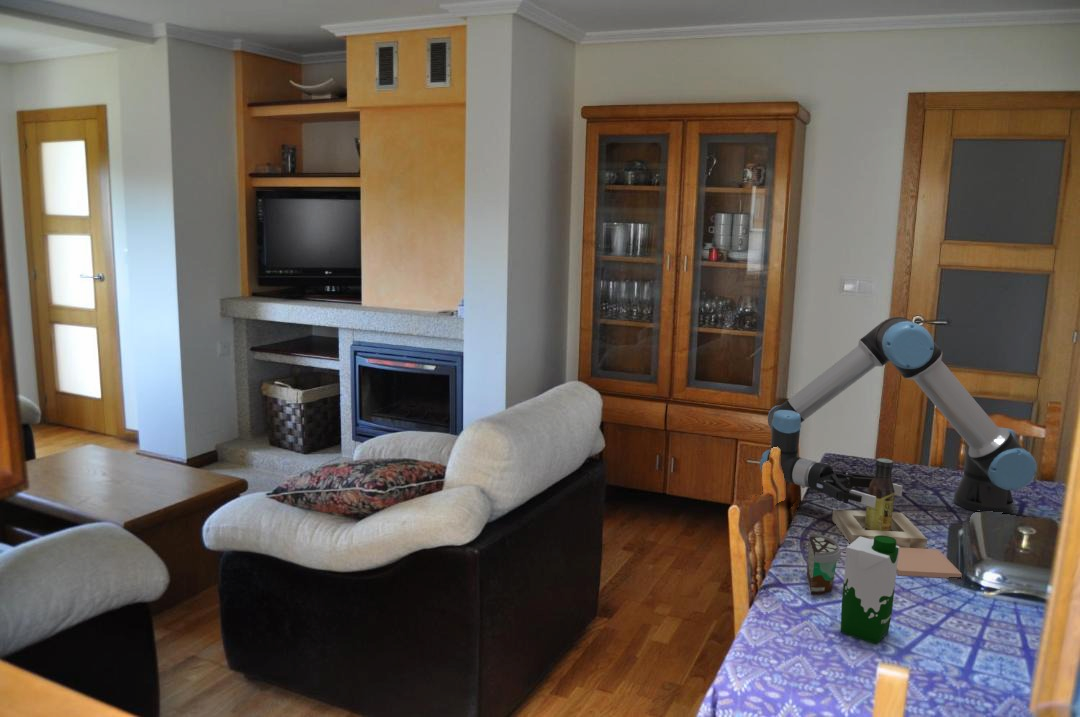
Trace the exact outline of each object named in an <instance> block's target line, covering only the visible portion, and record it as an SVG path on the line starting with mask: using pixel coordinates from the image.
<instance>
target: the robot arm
mask: <svg viewBox="0 0 1080 717" xmlns="http://www.w3.org/2000/svg"><path fill="white" fill-rule="evenodd" d="M942 358H943V351H942V350H941V348H940V347H939V346H938V345H937V343H936V342H935V341H934V339H933V337H932V335H931V333H930V332H929V331H928V330H927V329H926V328H925V327H924V326H923V325H921V324H919V323H916V322H914V321H912V320H910V319H909V318H906V317H902V316H893V317H891V318H887V319H885V320H883V321H882V322H880V323H879V324H877V326H875V327H874V328H873V329H872V330H870V331H868V332H867V334H865V335H864V336H863V337H862V338H860V339H859V340H858V345H857V346H855V347H854V348H853V349H852V350H851V351H849V352H848V353H847V354H846V355H844V356H843V357H841V358H840V359H839V360H837V362H835V363H834V364H833V365H831V366H830V367H828V368H827V369H826V370H825V371H823V372H821V374H820V375H819V376H817V377H815V378H814V379H813V380H812V381H811V382H809V383H808V384H807V385H805V386H804V387H803V388H801V389H800V390H799V391H798V392H796V393H794V395H792V396H791V397H789V398H788V400H785V402H783V403H782V404H780V405H779V404H778V405H775V406H773V407H772V408H771V409H770V410H769V412H768V414H767V424H768V426H769V428H770V432H771V439H770V441H771V442H770V448H769V449H767V450H765V451H764V452H763V453H762V455H761V459H760V460H759V461H760V462H759V468H760V471H761V472H762V465H763V463H764V462H766V461H768V460H769V454H770V450H771V448H773V447H777V446H778V447H779V448H780V449H781V466H782V470H783V473H784V478H785V481H784V482H787V483H790V484H794V485H797V486H800V487H801V488H802V489H805V488H807V489H811V490H813V491H816V492H821V493H825V494H826V495H828V496H830V497H831V498H832V499H835V500H836V501H838V502H843V503H844V504H849V501H850V502H854V503H856V504H860V505H863V506H866V507H867V506H870V507H873V508H874V507H875V504H876V496H872V495H869V494H868V493H865V492H861V491H858V490H854V489H852V488H855V487H856V488H868V489H869V486H870V482H871V481H872V480H873V479H874V477H875V475H871V474H870V475H869V474H863V473H856V472H849V471H845V470H843V471H841V472H836V473H835V472H834V470H833V467H832V466H831V465H829V464H826V463H822V462H817V461H815V460H812V459H807V458H804V457H800V456H799V443H800V435H801V428H802V423H803V422H805V420H807V419H808V418H810V417H811V416H813V415H814V414H815V413H816V412H818V411H819V410H820V409H821V408H822V407H824V406H825V405H827V404H829V403H830V402H831V401H832V400H834V399H835V398H836V397H837V396H839V395H840V394H841V393H842V392H844V391H845V390H847V389H848V388H849V387H851V386H852V385H853V384H855V383H856V382H857V381H859V380H860V379H861V378H863V377H864V376H865V375H867V374H868V373H869V372H871V371H872V370H874V369H875V368H876V367H883V366H884V365H886V364H887V363H889V362H890V363H891V364H892V365H893V366H894V368H896V370H897V372H899V374H900V375H901V376H902V377H903V378H904V379H905V380H913V381H914V382H915V383H916V384H917V386H918V387H919V388H920V390H922V392H923V393H924V394H925V395H926V396H927V398H928V399H929V400H930V401H931V403H933V405H934V406H935V407H936V408H937V410H938V411H939V412H940V413H941V414H942V415H943V416H944V418H945V419H946V420H947V421H948V422H949V424H950V426H952V427H953V429H954V430H955V431H956V432H957V433H958V435H959V436H960V437H961V438H962V439H963V441H964V442H965V443H966V449H965V459H964V469H963V475H962V478H961V479H960V481H959V483H958V485H957V487H956V489H955V491H954V495H953V496H954V497H953V502H954V503H955V504H956V505H957V506H959V507H961V508H962V509H963V508H964V509H967V510H969V511H972V512H973V511H974V512H976V511H977V510H980V511H993V512H1003V513H1007V514H1009V513H1012V512H1013V510H1014V499H1013V498H1014V497H1013V494H1012V491H1017V490H1020V489H1021V490H1022V489H1023V488H1025V487H1027V486H1028V485H1029V484H1031V483H1032V482H1033V480H1034V478H1035V477H1036V474H1037V468H1038V465H1037V462H1036V459H1035V458H1034V456H1033V454H1032V453H1031V452H1029V451H1028V450H1026V449H1025V448H1024V447H1023V446H1022V445H1021V444H1020V443H1019V442H1018V440H1017V439H1016V438H1017V437H1016V431H1015V430H1014V429H1012V428H1007V427H1001V426H1000V427H999V426H997V424H996V423H995V422H994V421H993V420H992V418H990V416H989V415H988V413H987V412H985V410H984V409H983V408H982V407H981V405H980V404H979V403H978V402H977V401H976V400H975V398H974V397H973V396H972V395H971V394H970V392H969V391H968V390H967V389H966V388H965V387H964V385H963V384H962V383H961V382H960V380H959V379H958V378H957V377H956V376H955V375H954V373H953V372H952V371H951V370H950V369H949V367H948V366H947V365H946V364H945V363H944V361H942ZM892 483H893V482H892ZM903 486H904V485H900V484H898V483H893V487H894V491H895V495H894V496H898V497H902V496H903ZM850 489H851V490H850Z"/></svg>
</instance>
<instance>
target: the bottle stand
mask: <svg viewBox="0 0 1080 717" xmlns="http://www.w3.org/2000/svg"><path fill="white" fill-rule="evenodd" d="M865 519H866V510H850V509H832V518H831V521H832V522H833V523H834V525H835V524H836V525H835V526H836V527H837V529H838V528H839V529H838V530H839V532H840V533H841V532H842V533H841V535H844V536H845V537H844V536H843V537H844V538H845V540H846V539H847V540H848V541H847V540H846V541H847V543H848V544H849V543H850V544H851V543H852V542H854V541H855V540H856V539H857V538H858V537H864V538H868V539H874V537H875V536H878V535H883V536H889V537H892V538H894V539H895V540H896V546H899V547H901V548H921V549H927V545H928V538H927V537H926V536H925V535H924V534H923V533H922V532H921V531H920V530H919V528H917V526H915V525H914V523H913V522H911V520H909V518H907V517H906V515H905V514H903V512H893V513H892V522H891V530H890V531H877V530H865ZM850 544H849V545H850Z"/></svg>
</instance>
